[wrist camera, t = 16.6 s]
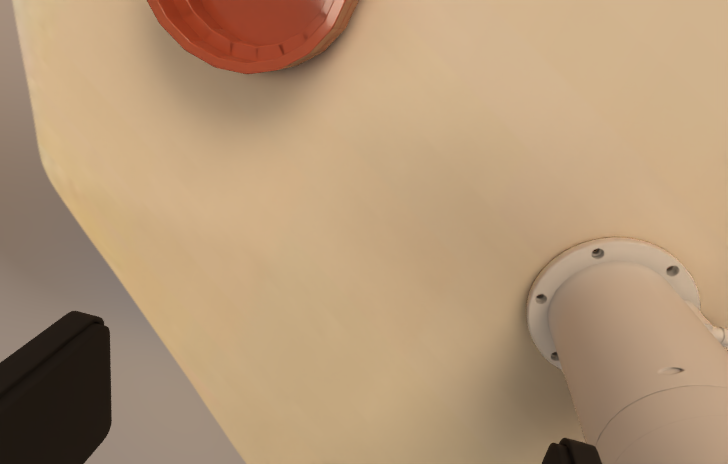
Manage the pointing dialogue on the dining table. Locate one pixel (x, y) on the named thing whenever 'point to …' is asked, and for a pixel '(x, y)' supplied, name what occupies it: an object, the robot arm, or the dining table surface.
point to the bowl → (254, 30)
